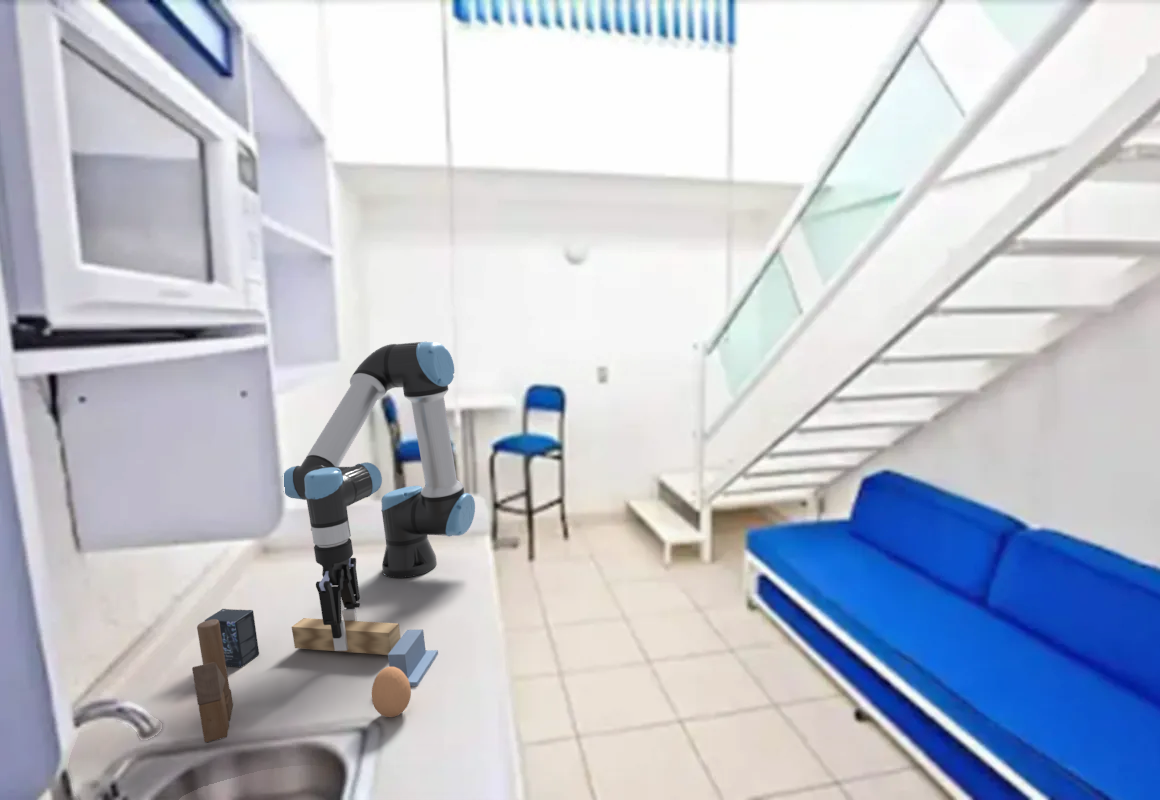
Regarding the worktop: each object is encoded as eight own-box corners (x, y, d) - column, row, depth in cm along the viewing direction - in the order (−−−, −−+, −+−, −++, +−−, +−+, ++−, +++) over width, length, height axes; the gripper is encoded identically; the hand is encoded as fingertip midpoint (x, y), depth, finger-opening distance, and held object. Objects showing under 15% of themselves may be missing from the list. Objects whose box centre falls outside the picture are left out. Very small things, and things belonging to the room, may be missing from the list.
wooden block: (204, 744, 113) (188, 646, 111) (212, 711, 123) (197, 621, 121) (227, 737, 115) (212, 641, 112) (234, 705, 125) (220, 616, 122)
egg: (367, 717, 118) (361, 670, 117) (399, 699, 123) (394, 654, 122) (387, 731, 113) (381, 683, 112) (420, 711, 118) (415, 665, 117)
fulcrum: (401, 654, 139) (398, 627, 139) (438, 653, 138) (435, 627, 138) (378, 686, 128) (374, 657, 127) (417, 686, 127) (414, 656, 126)
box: (210, 666, 140) (203, 619, 139) (230, 652, 146) (223, 607, 145) (242, 668, 139) (234, 621, 137) (260, 654, 144) (253, 608, 143)
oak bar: (294, 648, 144) (291, 626, 143) (306, 638, 148) (303, 618, 147) (391, 655, 137) (388, 632, 137) (401, 645, 141) (398, 623, 140)
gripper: (335, 527, 148) (349, 623, 152) (293, 558, 131) (310, 666, 134) (367, 526, 147) (380, 623, 151) (328, 557, 130) (344, 665, 133)
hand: (347, 643), depth 142 cm, fingers closed on oak bar, 4 cm apart
